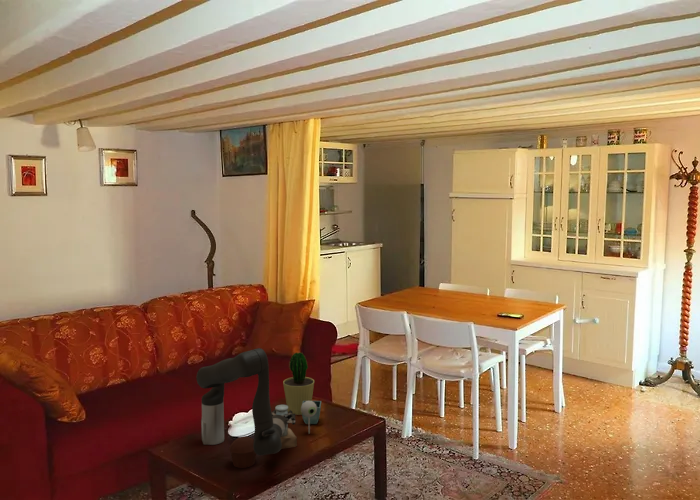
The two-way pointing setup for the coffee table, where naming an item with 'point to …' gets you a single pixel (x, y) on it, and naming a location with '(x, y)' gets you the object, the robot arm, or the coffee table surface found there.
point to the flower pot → (314, 418)
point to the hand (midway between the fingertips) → (282, 412)
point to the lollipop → (308, 411)
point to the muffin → (243, 452)
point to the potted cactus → (298, 384)
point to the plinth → (289, 440)
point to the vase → (281, 411)
